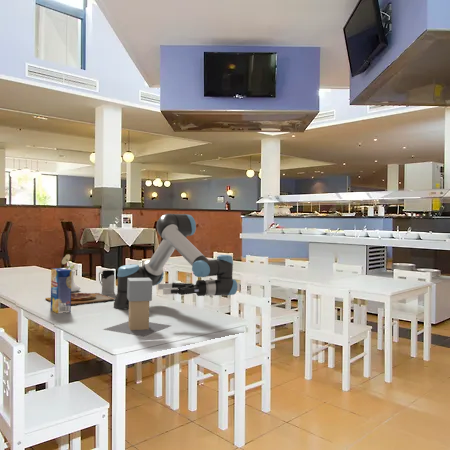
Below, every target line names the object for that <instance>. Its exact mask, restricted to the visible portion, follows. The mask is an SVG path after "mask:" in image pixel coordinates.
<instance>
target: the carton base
mask: <svg viewBox="0 0 450 450" xmlns="http://www.w3.org/2000/svg"><path fill="white" fill-rule="evenodd" d="M127 322H128V326H129V329H130V330H144V329H149V322H150V301H129V309H128V321H127Z"/></svg>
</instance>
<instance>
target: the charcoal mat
mask: <svg viewBox="0 0 450 450" xmlns="http://www.w3.org/2000/svg"><path fill="white" fill-rule="evenodd" d="M170 327H172V325H170V324H162V323H158V322H157V323H156V322H150V321H149V329H144V330H130V329H129V326H128V321H125V322H121V323H119V324H115V325H112V326H109V327H106V328H103V329H102V330H103V331H110V332H116V333H121V334H127V335H132V336H137V337H138V336H139V337H147V336H149V335H151V334H154V333H157V332H159V331H161V330H165V329H168V328H170Z"/></svg>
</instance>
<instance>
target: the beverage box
mask: <svg viewBox="0 0 450 450" xmlns="http://www.w3.org/2000/svg"><path fill="white" fill-rule="evenodd" d="M50 269H51V275H50V298H51V302H50V309H49V310H50V311H52V312H54V313H55V314H64V313H63V312H66V313H71V311H72V309H71V306H72V305H71V293H72V292H71V277H72V270H73V269H70V268H68V269H66V268H65V267H59V268H57V267H56V268H50Z"/></svg>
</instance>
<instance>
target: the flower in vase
mask: <svg viewBox="0 0 450 450" xmlns="http://www.w3.org/2000/svg"><path fill="white" fill-rule="evenodd" d="M70 260H71V255H70V254H65V256H64V257H62V260H61V265H65V264H67V263H68V265H66V266H65V267H64V268H66V269H69V270H72V277H71V293H73V292H78V291H79V290H81V287H80V285H78V284H77V283H76V282H75V281H74V276H75V273H76V270H73V269H74V268H75V264H73V265H70V262H69V261H70Z"/></svg>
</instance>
